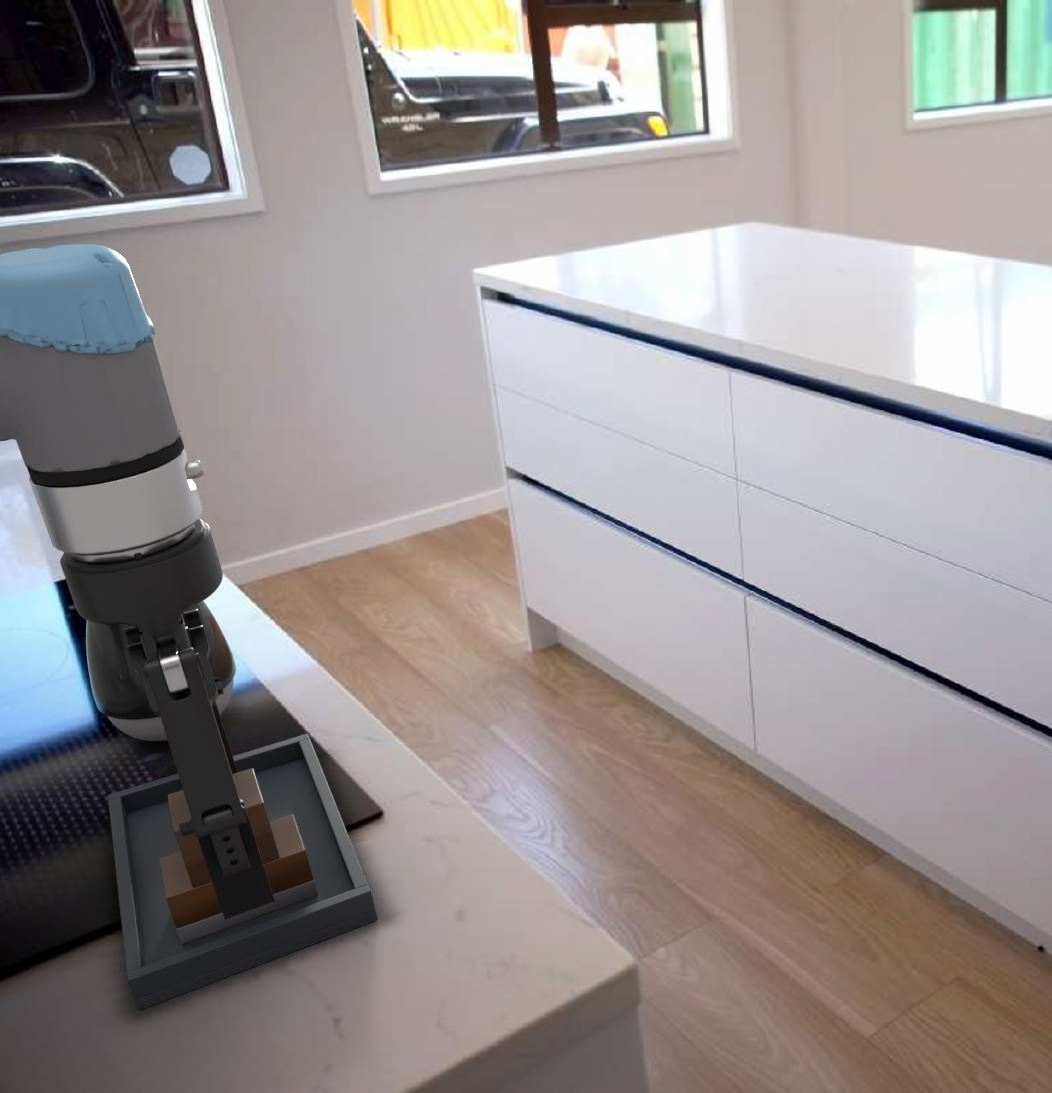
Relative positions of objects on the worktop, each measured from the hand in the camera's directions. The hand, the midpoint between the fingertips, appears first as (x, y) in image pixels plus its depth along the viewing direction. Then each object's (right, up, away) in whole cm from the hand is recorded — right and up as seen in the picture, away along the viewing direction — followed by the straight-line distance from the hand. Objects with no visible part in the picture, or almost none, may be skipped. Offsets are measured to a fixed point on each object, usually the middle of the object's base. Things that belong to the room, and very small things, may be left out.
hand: (233, 846), depth 77 cm
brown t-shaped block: (0, -4, +2) cm, 4 cm away
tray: (-3, -3, +6) cm, 7 cm away
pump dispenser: (-16, +4, +24) cm, 29 cm away
